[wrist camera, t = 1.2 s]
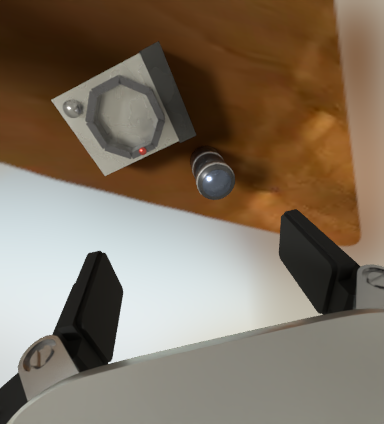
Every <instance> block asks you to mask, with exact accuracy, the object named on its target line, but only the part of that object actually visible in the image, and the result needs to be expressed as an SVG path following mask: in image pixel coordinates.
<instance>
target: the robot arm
mask: <svg viewBox="0 0 384 424" xmlns="http://www.w3.org/2000/svg"><path fill="white" fill-rule="evenodd" d="M279 256H280V259H281V260H282V262H283V263H284V265H285V266H286V268H287V269H288V270H289V272H290V273H291V275H292V276H293V278H294V279H295V281H296V282H297V283H298V285H299V286H300V288H301V289H302V291H303V292H304V293H305V295H306V296H307V298H308V299H309V301H310V302H311V303H312V305H313V306H314V308H315V309H316V311H317V312H318V313H320V314H321V313H322V314H323V315H320V316H316V317H311V318H306V319H301V320H297V321H292V322H288V323H283V324H279V325H274V326H270V327H265V328H261V329H256V330H252V331H247V332H243V333H238V334H234V335H230V336H225V337H221V338H217V339H212V340H208V341H203V342H199V343H195V344H190V345H186V346H182V347H177V348H174V349H169V350H165V351H160V352H156V353H152V354H148V355H143V356H139V357H135V358H131V359H127V360H123V361H119V362H115V363H111V364H108V362H110V361H111V360H112V357H113V351H114V345H115V339H116V332H117V327H118V321H119V315H120V309H121V303H122V297H123V289H122V286H121V284H120V282H119V280H118V278H117V276H116V274H115V272H114V270H113V268H112V265H111V263H110V261H109V259H108V257H107V255H106V254H105V253H102V252H101V251H97V252H92V253H89V254H88V255H87V257H86V259H85V262H84V264H83V266H82V269H81V271H80V274H79V276H78V278H77V281H76V283H75V284H74V285H73V287H72V289H71V292H70V294H69V296H68V299H67V301H66V304H65V306H64V308H63V311H62V313H61V315H60V318H59V320H58V323H57V325H56V327H55V330H54V332H53V335H49V336H45V337H43V338H40V339H39V340H38V341H36V342H34V343H33V344H32V345H31V346H30V347H29V348H28V349H27V350H26V351H25V353H24V354H23V356H22V357H21V360H20V362H19V365H18V373H17V374H16V375H15V376H14V377H13V378H12V379H11V380H9V381H8V382H7V383H6V384H5V385H4V386H2V387H1V388H0V424H384V267H382V266H377V265H364V266H361V267H360V266H359V265H358V264H357V263H356V262H355V261H354V260H353V259H352V258H351V257H349V256H348V255H347V254H346V253H345V252H344V251H343V250H341V248H339V247H338V246H337V245H336V244H335V243H334V242H333V241H332V240H331V239H329V238H328V237H327V236H326V235H325V234H324V233H323V232H322V231H320V230H319V229H318V228H317V227H316V226H315V225H314V224H313V223H312V222H310V221H309V220H308V219H307V218H306V217H305V216H304V215H303V214H302V213H300V212H299V211H298V210H296V209H295V210H291V211H286V212H285V213H284V215H282V216H281V227H280V244H279Z"/></svg>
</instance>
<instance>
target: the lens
mask: <svg viewBox="0 0 384 424" xmlns="http://www.w3.org/2000/svg"><path fill="white" fill-rule="evenodd" d="M190 165H191V168H192V172H193V175H194V177H195V179H196V185H197V188H198V190H199V192H200V193H201V194H202V195H203V196H204V197H206V198H208V199H212V200H217V199H221V198H224V197H225V196H227V195H228V194H229V193H230V192H231V191H232V189H233V187H234V184H235V176H234V173H233V171H232V169H231V168H230V167H229V166H228V165H227V164H226V163H225V161H224V160H223V158H222V157H221V156H220V155H219V153H218V152H217V151H216V150H215V149H214V148H213V147H210V146H201V147H199V148H197V149H196V150H195V151H194V152H193V153H192V155H191V158H190Z"/></svg>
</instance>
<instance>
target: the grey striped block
mask: <svg viewBox="0 0 384 424" xmlns="http://www.w3.org/2000/svg"><path fill="white" fill-rule="evenodd" d="M51 101H52V102H53V103H54V105H55V106H56V108H57V109H58V110H59V112H60V113H61V115H62V116H63V117H64V119H65V120H66V122H67V123H68V125H69V126H70V127H71V129H72V130H73V132H74V133H75V134H76V136H77V137H78V139H79V140H80V141H81V143H82V144H83V146H84V147H85V148H86V150H87V151H88V153H89V154H90V155H91V157H92V158H93V160H94V161H95V162H96V164H97V165H98V167H99V168H100V169H101V171H102V172H103V174H104V175H105V176H106V175H108V174H110V173H112V172H114V171H117V170H119V169H121V168H123V167H125V166H127V165H129V164H131V163H133V162H136V161H138V160H140V159H142V158H144V157H146V156H148V155H150V154H153V153H155V152H157V151H159V150H161V149H163V148H165V147H167V146H169V145H172V144H174V143H176V142H178V141H180V143H181V142H183V141H185V140H188V139H190V138H192V137H194V136H196V133H195V130H194V128H193V125H192V123H191V120H190V118H189V115H188V113H187V110H186V108H185V105H184V103H183V100H182V98H181V95H180V93H179V91H178V88H177V86H176V83H175V81H174V78H173V76H172V73H171V71H170V68H169V66H168V63H167V61H166V58H165V56H164V53H163V51H162V48H161V46H160V43H159V41H158V42H156V43H155V44H153V45H151V46H149V47H147V48H145V49H143V50H141V51H140V52H139V53H138V54H137V55H135V56H133V57H131V58H129V59H127V60H125V61H123V62H122V63H120V64H118V65H116V66H114V67H112V68H110V69H108V70H107V71H105V72H103V73H101V74H99V75H97V76H95V77H93V78H92V79H90V80H88V81H86V82H84V83H82V84H80V85H78V86H77V87H75V88H73V89H71V90H69V91H67V92H65V93H63V94H62V95H60V96H58V97H56V98H54V99H52V100H51Z"/></svg>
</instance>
